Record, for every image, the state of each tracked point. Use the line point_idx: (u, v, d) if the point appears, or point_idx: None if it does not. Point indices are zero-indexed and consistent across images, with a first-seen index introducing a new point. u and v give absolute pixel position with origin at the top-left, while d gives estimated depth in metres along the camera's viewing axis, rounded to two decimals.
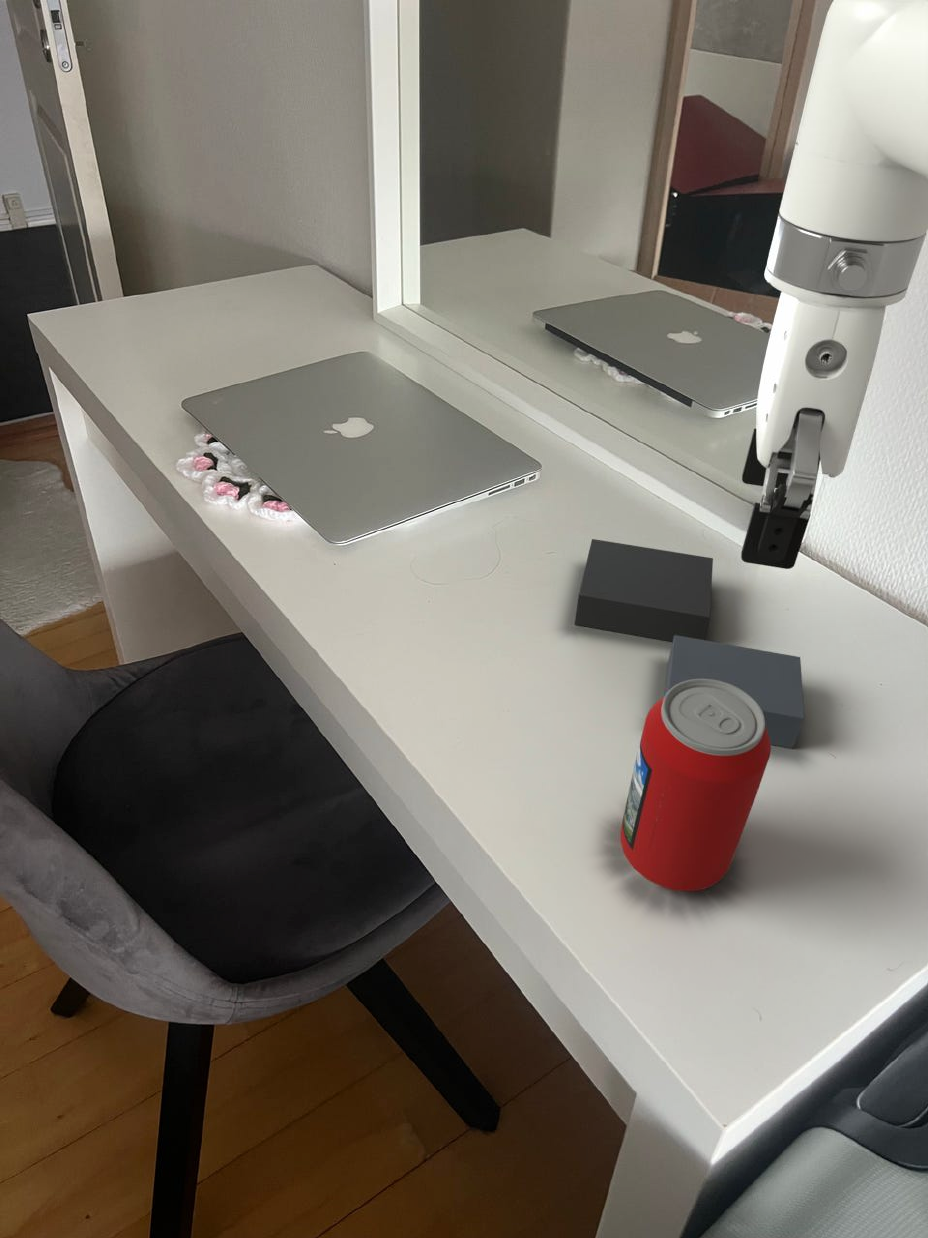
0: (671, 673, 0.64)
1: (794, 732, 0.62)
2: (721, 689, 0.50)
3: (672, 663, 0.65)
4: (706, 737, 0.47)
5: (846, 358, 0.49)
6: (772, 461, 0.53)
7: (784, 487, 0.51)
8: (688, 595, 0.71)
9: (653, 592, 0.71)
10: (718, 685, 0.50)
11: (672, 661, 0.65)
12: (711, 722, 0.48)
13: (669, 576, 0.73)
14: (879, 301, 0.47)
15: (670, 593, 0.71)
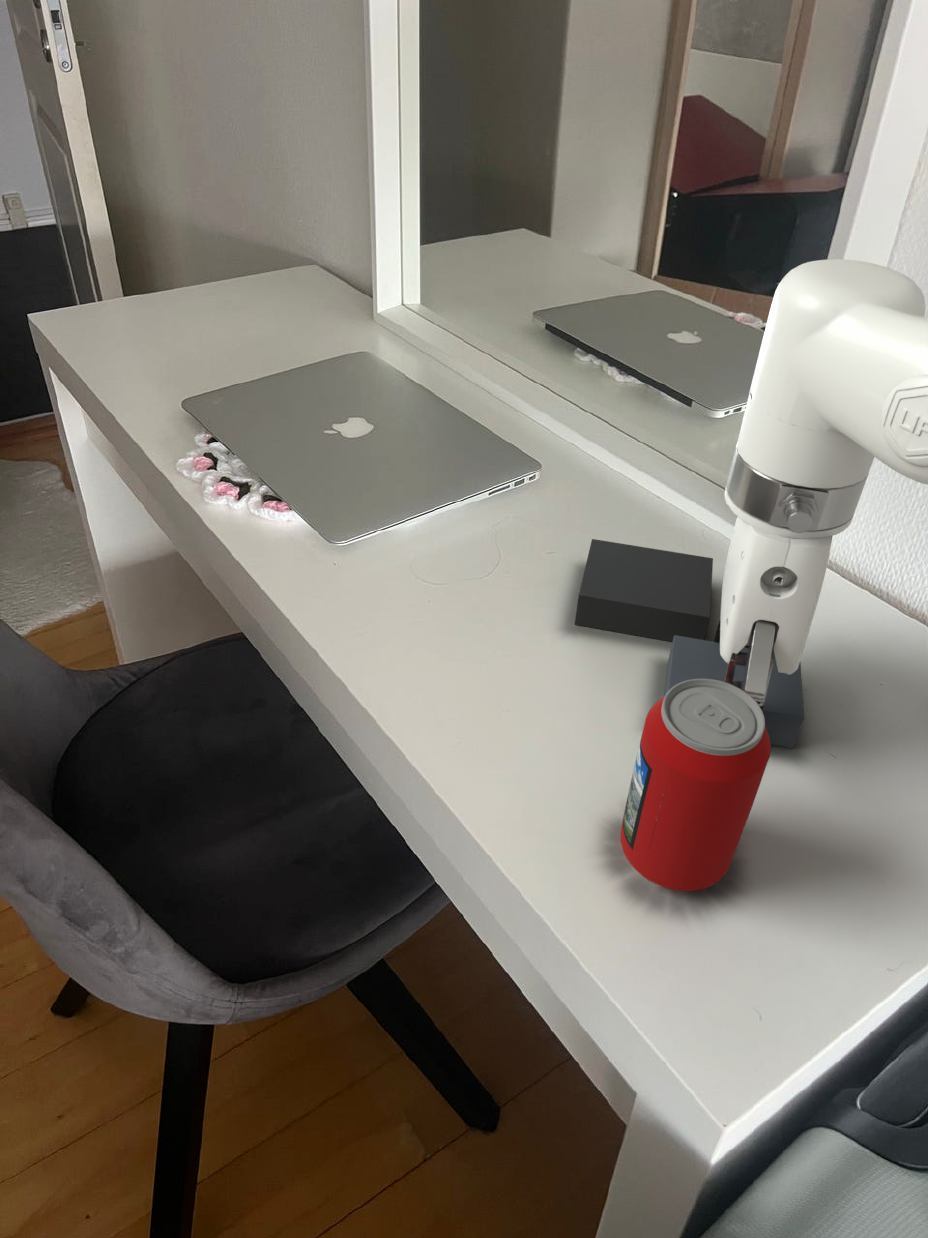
0: (671, 673, 0.64)
1: (794, 732, 0.62)
2: (721, 689, 0.50)
3: (672, 663, 0.65)
4: (706, 737, 0.47)
5: (797, 580, 0.53)
6: None
7: (739, 685, 0.57)
8: (688, 595, 0.71)
9: (653, 592, 0.71)
10: (718, 685, 0.50)
11: (672, 661, 0.65)
12: (711, 722, 0.48)
13: (669, 576, 0.73)
14: (826, 533, 0.52)
15: (670, 593, 0.71)
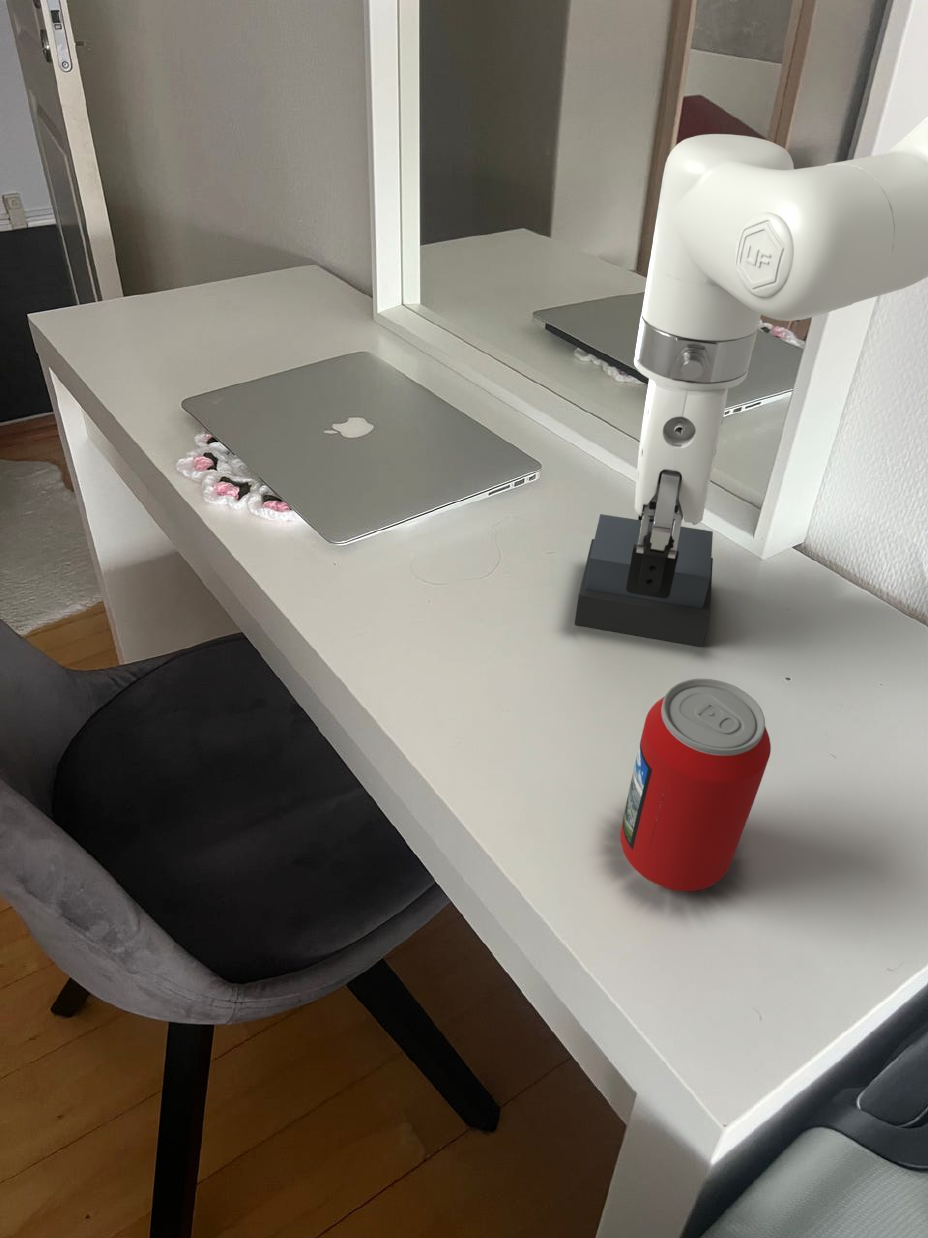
0: (594, 543, 0.71)
1: (702, 591, 0.69)
2: (721, 689, 0.50)
3: (596, 535, 0.71)
4: (706, 737, 0.47)
5: (695, 430, 0.60)
6: (644, 511, 0.64)
7: (650, 534, 0.62)
8: None
9: None
10: (718, 685, 0.50)
11: (596, 534, 0.72)
12: (711, 722, 0.48)
13: None
14: (719, 385, 0.59)
15: None
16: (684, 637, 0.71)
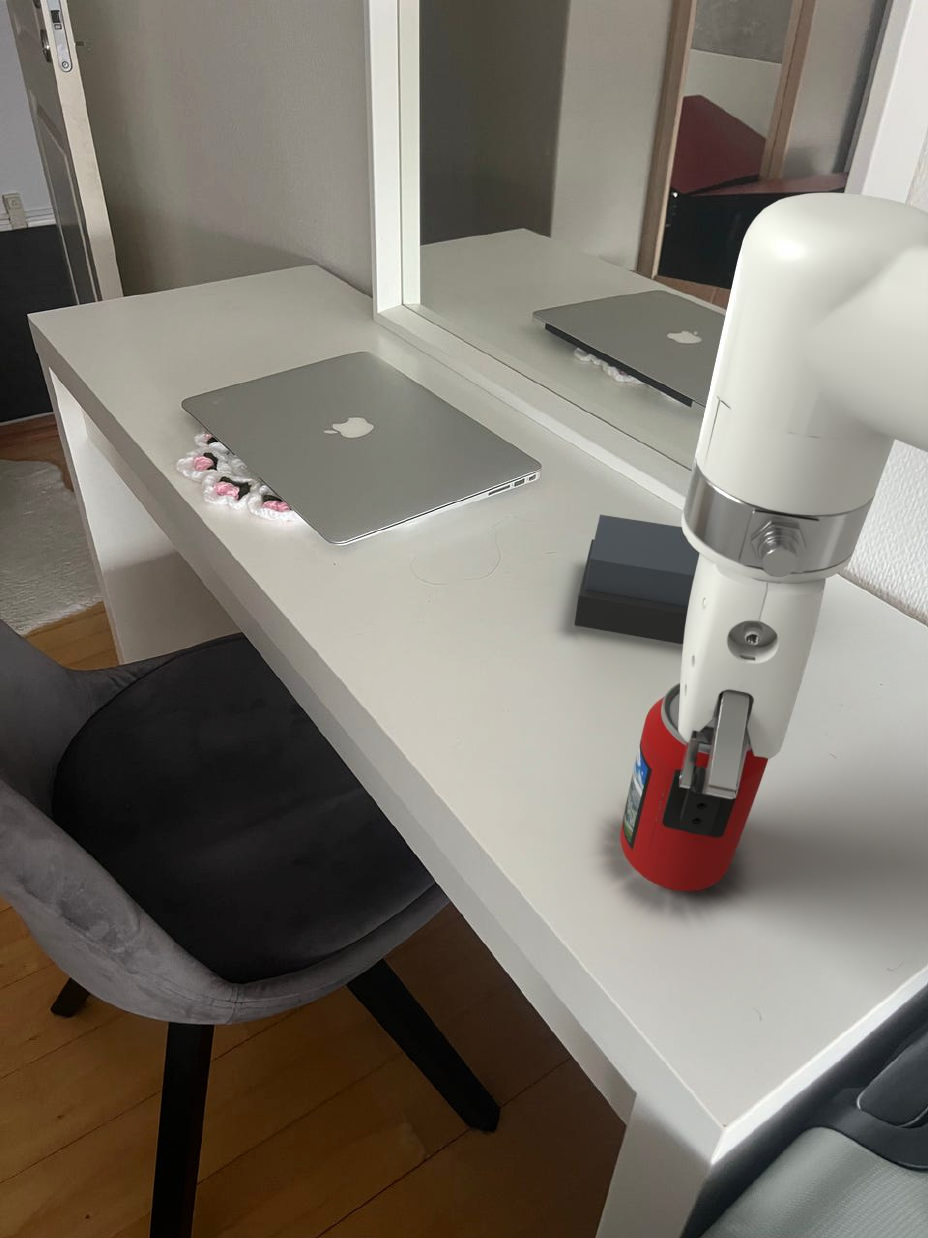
0: (594, 543, 0.71)
1: None
2: None
3: (595, 536, 0.71)
4: None
5: (778, 639, 0.39)
6: None
7: (703, 775, 0.43)
8: None
9: None
10: None
11: (596, 534, 0.72)
12: (711, 722, 0.48)
13: None
14: (817, 575, 0.38)
15: None
16: None
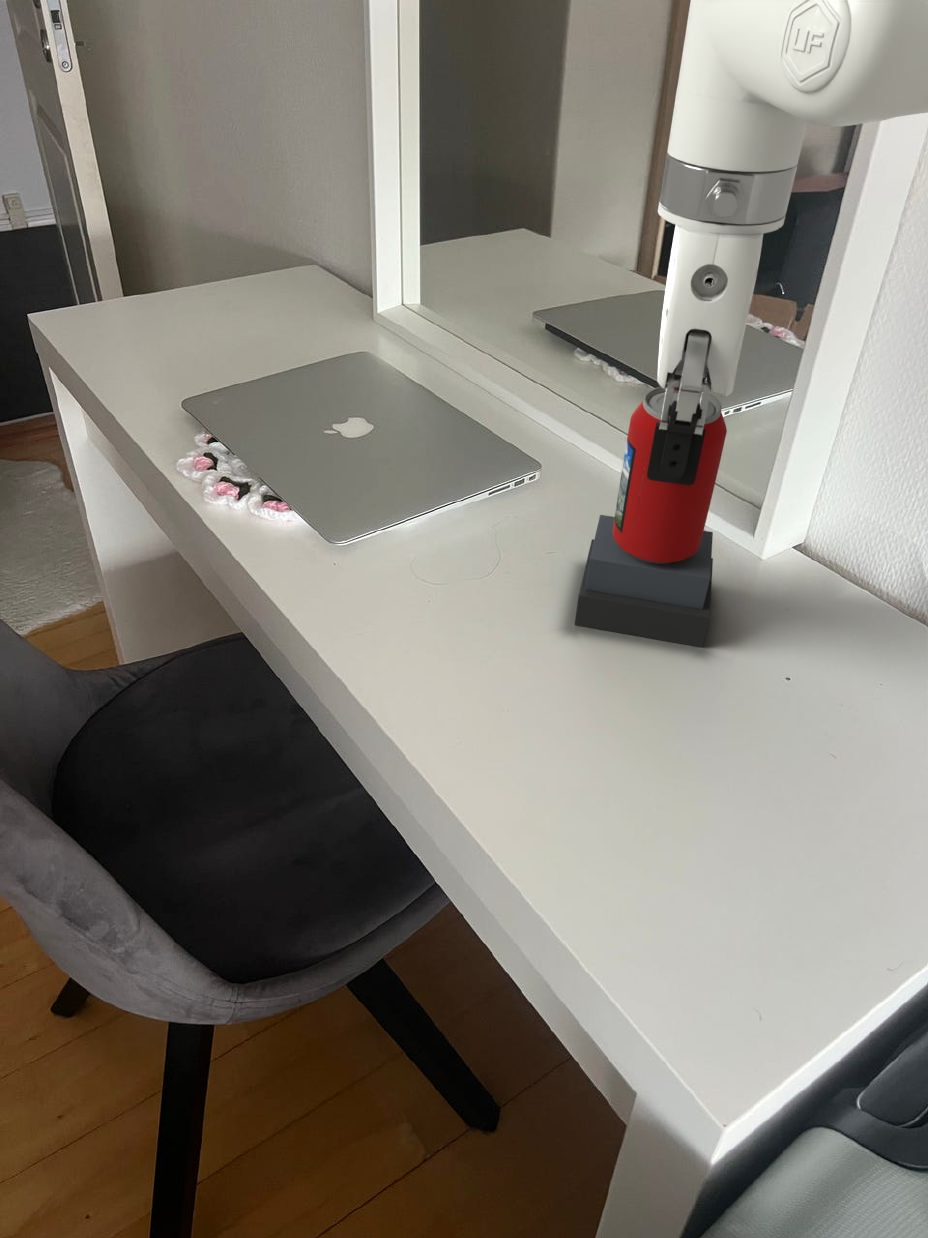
0: (594, 543, 0.71)
1: (702, 592, 0.69)
2: None
3: (595, 536, 0.71)
4: None
5: (727, 282, 0.53)
6: (669, 382, 0.58)
7: (676, 403, 0.56)
8: None
9: None
10: None
11: (596, 534, 0.72)
12: None
13: None
14: (755, 229, 0.52)
15: None
16: (684, 637, 0.70)
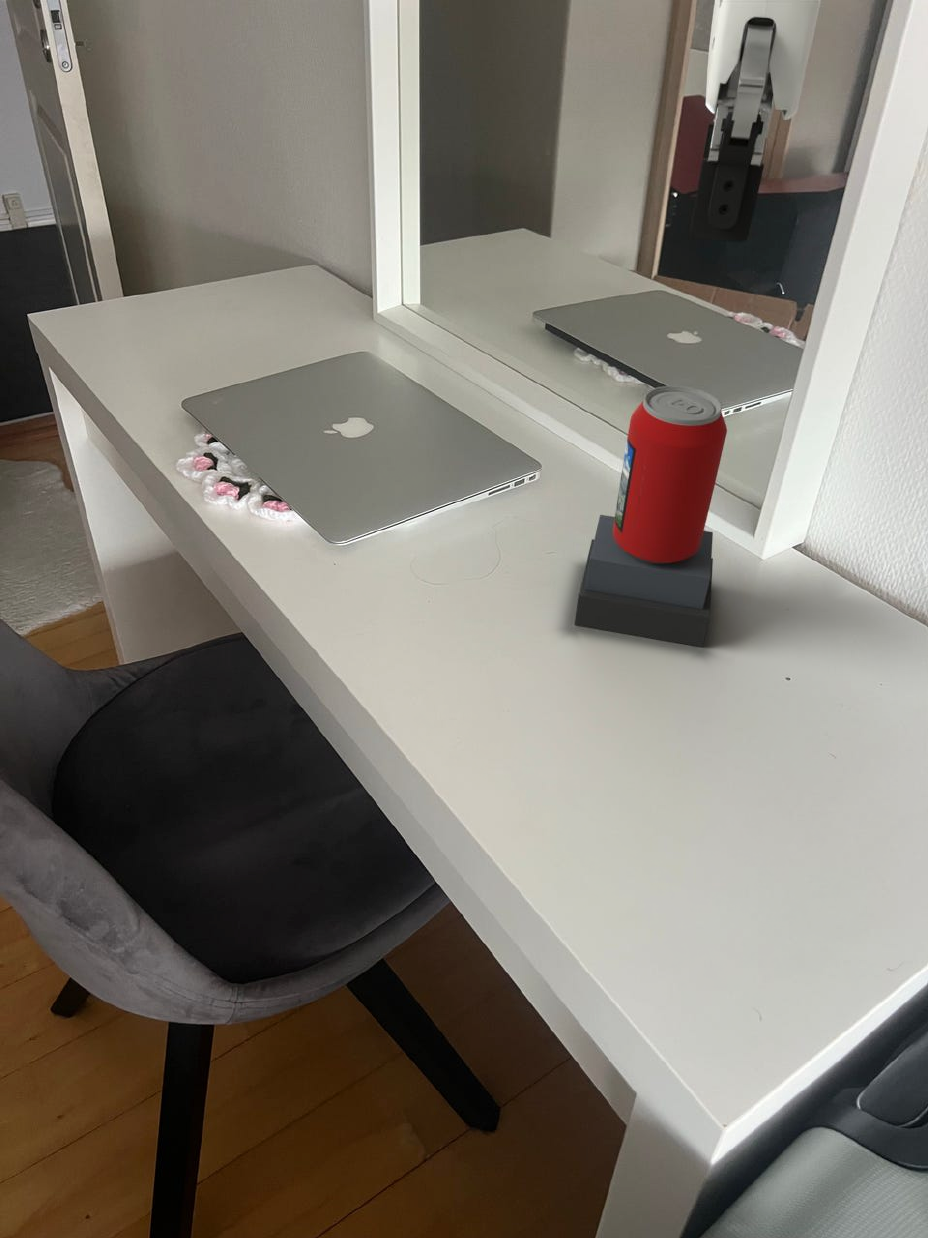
0: (594, 543, 0.71)
1: (702, 592, 0.69)
2: (689, 392, 0.65)
3: (596, 536, 0.71)
4: (676, 415, 0.62)
5: None
6: (720, 99, 0.48)
7: (731, 112, 0.46)
8: None
9: None
10: (687, 390, 0.65)
11: (596, 534, 0.72)
12: (681, 408, 0.63)
13: None
14: None
15: None
16: (684, 637, 0.70)
